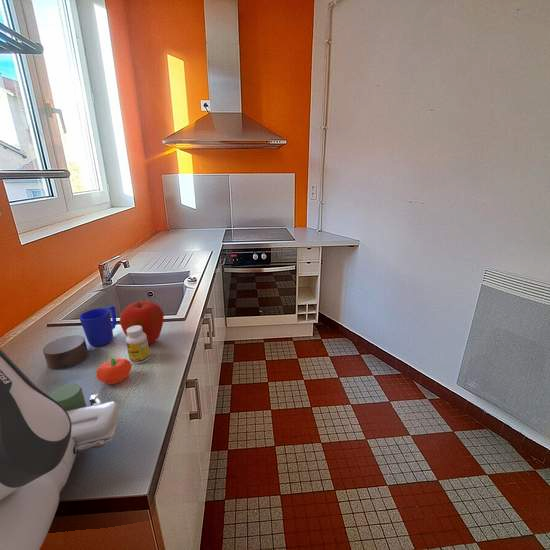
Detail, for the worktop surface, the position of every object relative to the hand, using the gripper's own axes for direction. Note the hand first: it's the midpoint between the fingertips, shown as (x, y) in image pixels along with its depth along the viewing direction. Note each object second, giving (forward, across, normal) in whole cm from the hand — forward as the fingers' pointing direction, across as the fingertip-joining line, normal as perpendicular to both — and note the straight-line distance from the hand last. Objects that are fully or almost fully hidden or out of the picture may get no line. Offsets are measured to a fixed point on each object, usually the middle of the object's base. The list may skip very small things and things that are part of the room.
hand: (70, 402), depth 61 cm
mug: (+38, +2, +7) cm, 39 cm away
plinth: (+29, +10, +6) cm, 32 cm away
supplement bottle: (+22, -10, +7) cm, 25 cm away
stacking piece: (-1, 0, +6) cm, 6 cm away
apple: (+31, -11, +7) cm, 34 cm away
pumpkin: (+14, -5, +7) cm, 16 cm away
